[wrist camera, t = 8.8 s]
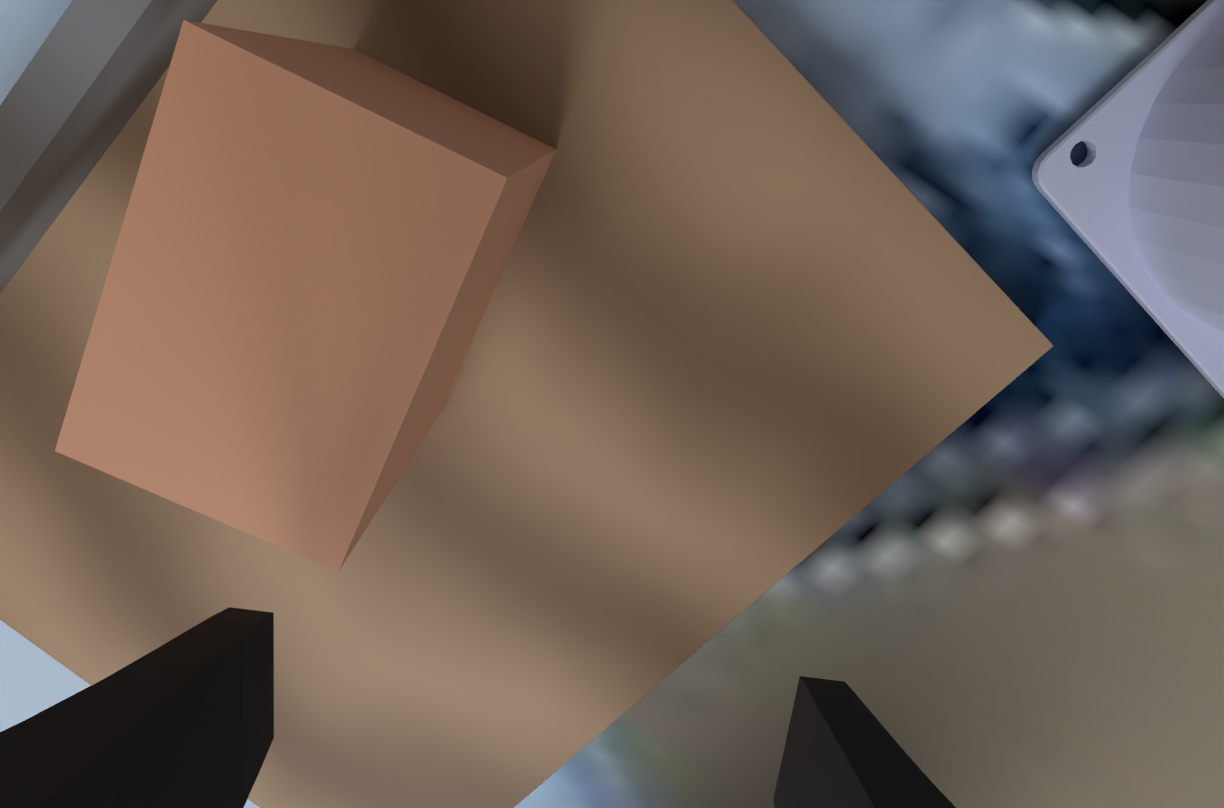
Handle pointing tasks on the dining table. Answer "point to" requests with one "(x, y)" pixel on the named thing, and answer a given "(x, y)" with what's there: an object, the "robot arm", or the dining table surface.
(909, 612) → the dining table surface
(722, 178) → the brown wooden pallet
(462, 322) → the tea tin
